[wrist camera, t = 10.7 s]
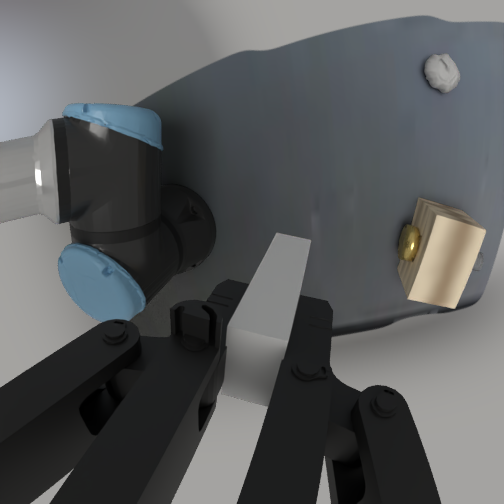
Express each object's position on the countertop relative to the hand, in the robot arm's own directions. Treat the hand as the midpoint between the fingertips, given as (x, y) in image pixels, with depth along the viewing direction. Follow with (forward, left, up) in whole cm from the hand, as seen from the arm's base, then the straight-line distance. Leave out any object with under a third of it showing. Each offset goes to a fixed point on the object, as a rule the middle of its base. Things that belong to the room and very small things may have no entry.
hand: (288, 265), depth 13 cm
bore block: (+19, -7, -32) cm, 38 cm away
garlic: (+15, +18, -33) cm, 40 cm away
